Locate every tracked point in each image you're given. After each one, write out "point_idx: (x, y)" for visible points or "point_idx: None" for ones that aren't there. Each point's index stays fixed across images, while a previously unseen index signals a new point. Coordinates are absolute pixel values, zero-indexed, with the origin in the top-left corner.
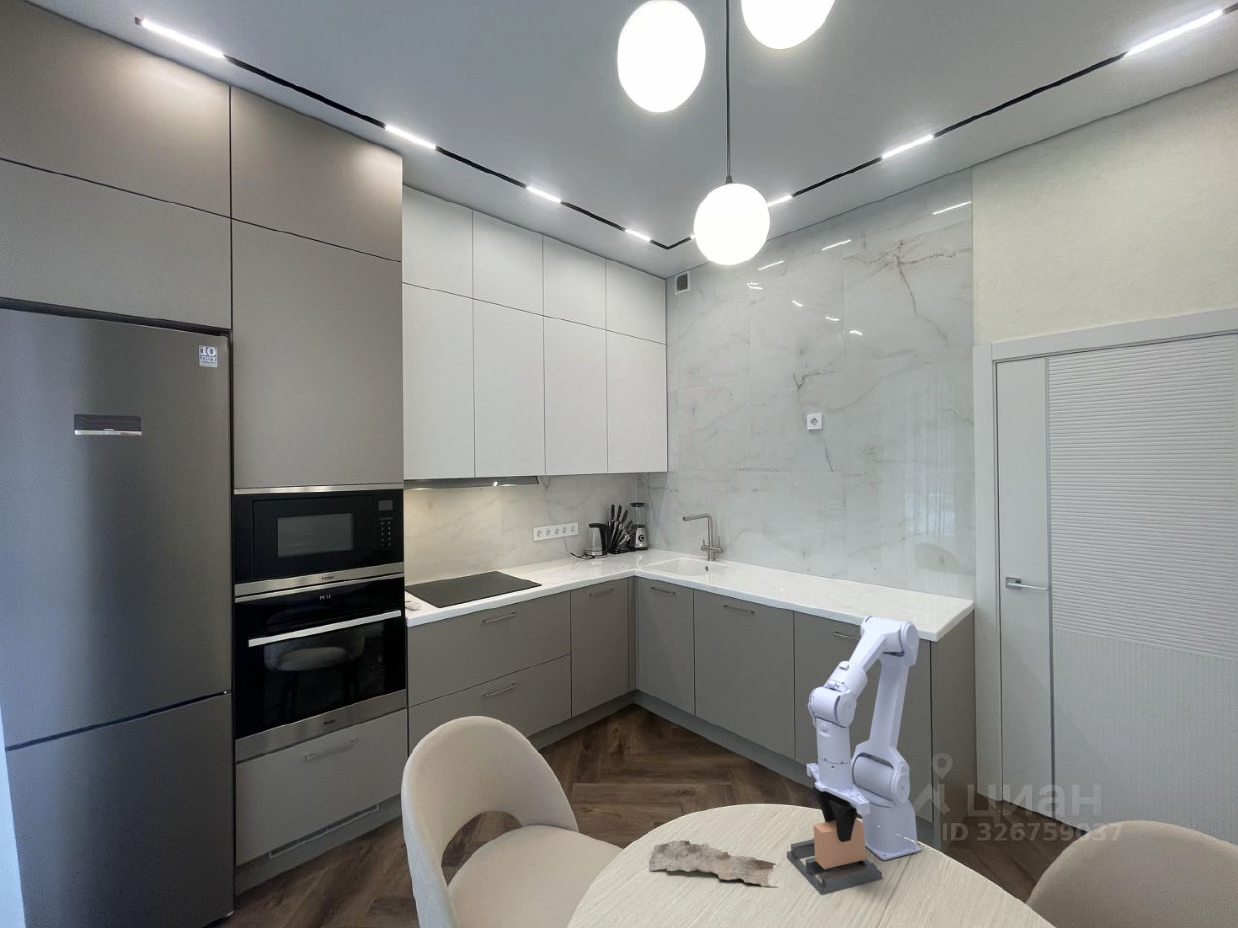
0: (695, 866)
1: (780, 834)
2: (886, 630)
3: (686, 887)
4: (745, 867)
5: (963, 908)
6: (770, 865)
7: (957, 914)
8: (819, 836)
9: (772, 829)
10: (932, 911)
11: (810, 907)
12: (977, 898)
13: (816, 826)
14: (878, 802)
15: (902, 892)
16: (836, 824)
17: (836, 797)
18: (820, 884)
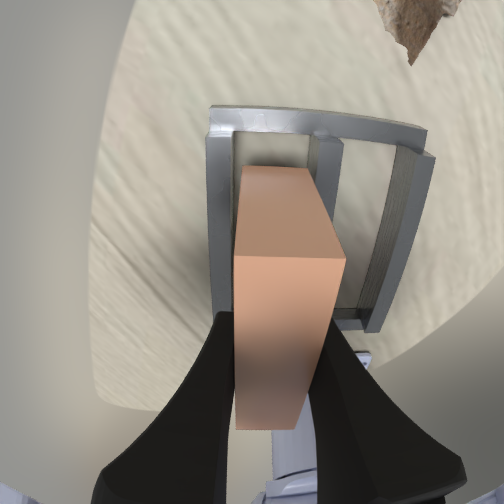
0: None
1: (490, 192)
2: None
3: None
4: None
5: (113, 369)
6: (409, 40)
7: (100, 353)
8: (272, 230)
9: None
10: (106, 328)
11: (173, 32)
12: (135, 395)
13: (320, 265)
14: (297, 480)
15: (164, 322)
16: (225, 372)
17: (326, 490)
18: (230, 120)
